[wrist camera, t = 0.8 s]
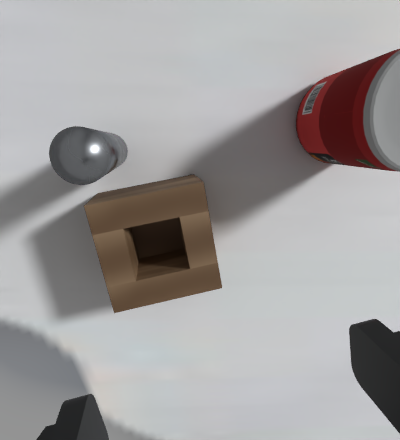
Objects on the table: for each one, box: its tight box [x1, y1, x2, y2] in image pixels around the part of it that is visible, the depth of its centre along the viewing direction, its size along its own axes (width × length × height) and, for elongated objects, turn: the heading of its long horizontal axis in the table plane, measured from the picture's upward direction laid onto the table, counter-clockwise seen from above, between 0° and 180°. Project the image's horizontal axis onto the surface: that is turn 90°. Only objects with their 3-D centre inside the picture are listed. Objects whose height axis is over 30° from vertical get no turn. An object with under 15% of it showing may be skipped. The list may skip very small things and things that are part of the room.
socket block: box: [84, 174, 222, 313], centre depth 27 cm, size 9×9×6 cm
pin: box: [49, 127, 128, 185], centre depth 22 cm, size 3×3×12 cm
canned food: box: [296, 49, 400, 171], centre depth 25 cm, size 8×8×11 cm
